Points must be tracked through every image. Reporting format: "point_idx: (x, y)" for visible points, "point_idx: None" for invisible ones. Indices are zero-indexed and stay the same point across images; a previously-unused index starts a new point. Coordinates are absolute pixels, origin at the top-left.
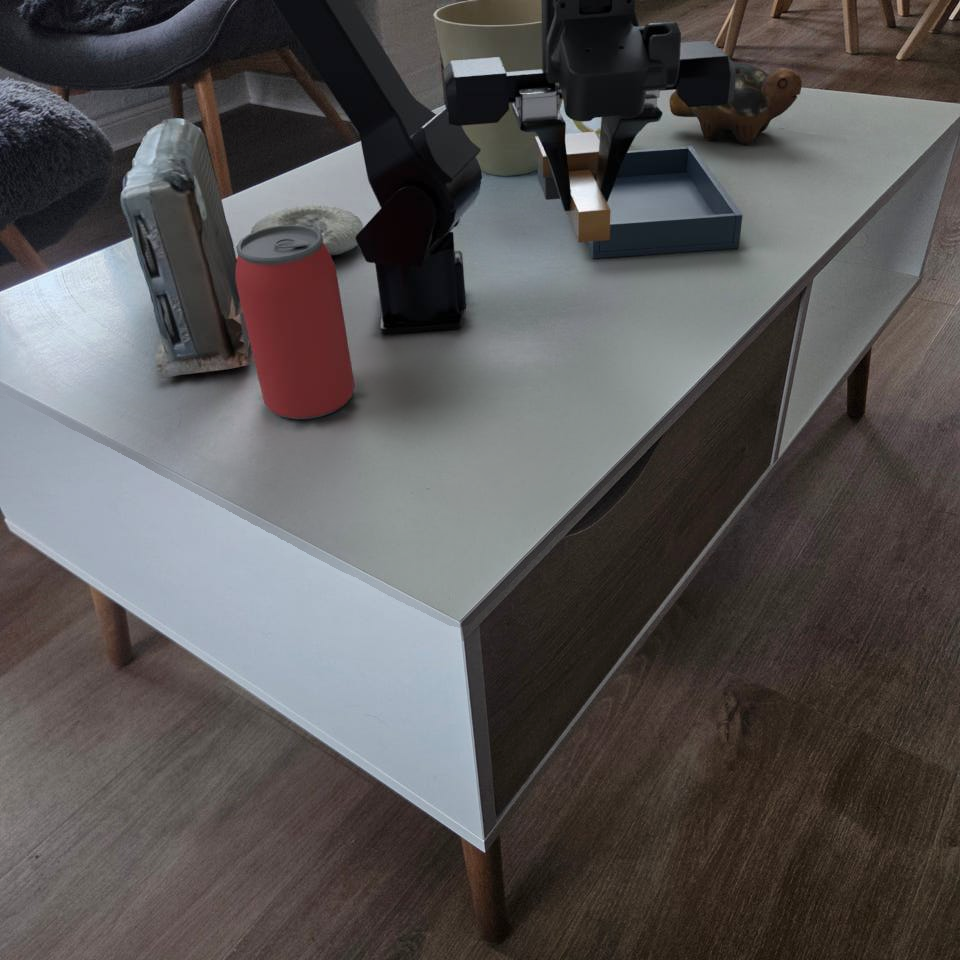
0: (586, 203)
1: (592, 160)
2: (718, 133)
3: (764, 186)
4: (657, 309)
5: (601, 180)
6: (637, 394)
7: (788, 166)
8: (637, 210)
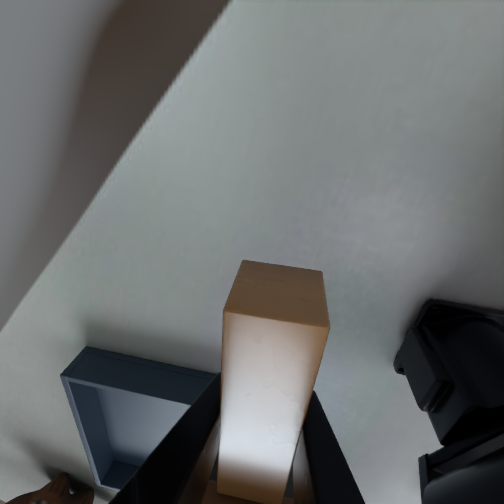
0: (281, 368)
1: None
2: (81, 491)
3: (55, 422)
4: (184, 267)
5: (210, 442)
6: (262, 59)
7: (35, 438)
8: (165, 428)
